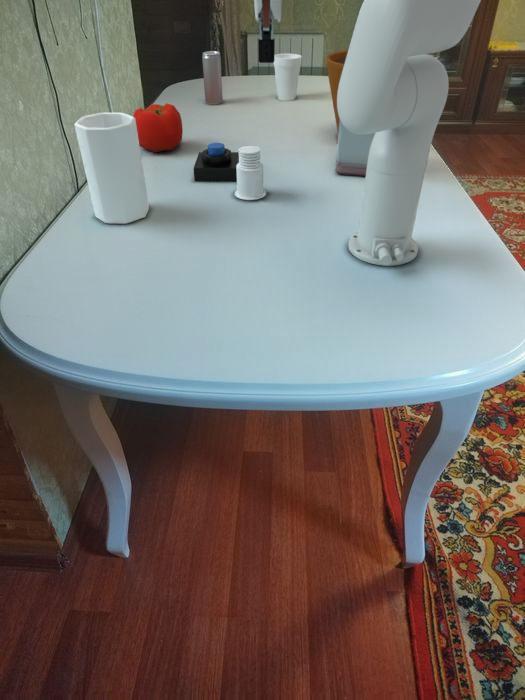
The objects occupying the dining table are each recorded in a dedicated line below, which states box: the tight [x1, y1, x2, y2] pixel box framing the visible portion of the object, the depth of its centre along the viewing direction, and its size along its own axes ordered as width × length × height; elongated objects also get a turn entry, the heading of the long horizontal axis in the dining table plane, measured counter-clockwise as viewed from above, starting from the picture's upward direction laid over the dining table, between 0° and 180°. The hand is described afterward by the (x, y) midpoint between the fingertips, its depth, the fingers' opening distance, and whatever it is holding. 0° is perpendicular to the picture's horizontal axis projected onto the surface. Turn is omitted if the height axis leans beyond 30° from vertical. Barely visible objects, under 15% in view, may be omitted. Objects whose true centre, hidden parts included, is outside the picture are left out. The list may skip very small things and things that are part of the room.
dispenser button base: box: [193, 147, 239, 183], centre depth 122 cm, size 11×10×5 cm
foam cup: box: [272, 53, 303, 102], centre depth 174 cm, size 10×9×13 cm
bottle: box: [335, 115, 375, 177], centre depth 117 cm, size 14×10×30 cm
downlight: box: [234, 145, 267, 201], centre depth 110 cm, size 8×7×10 cm
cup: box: [74, 111, 150, 225], centre depth 100 cm, size 11×11×18 cm
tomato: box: [132, 102, 184, 153], centre depth 134 cm, size 14×13×10 cm
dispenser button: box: [207, 142, 226, 156], centre depth 120 cm, size 4×4×2 cm
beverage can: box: [201, 50, 224, 106], centre depth 169 cm, size 6×6×15 cm
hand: (266, 61), depth 103 cm, fingers closed
